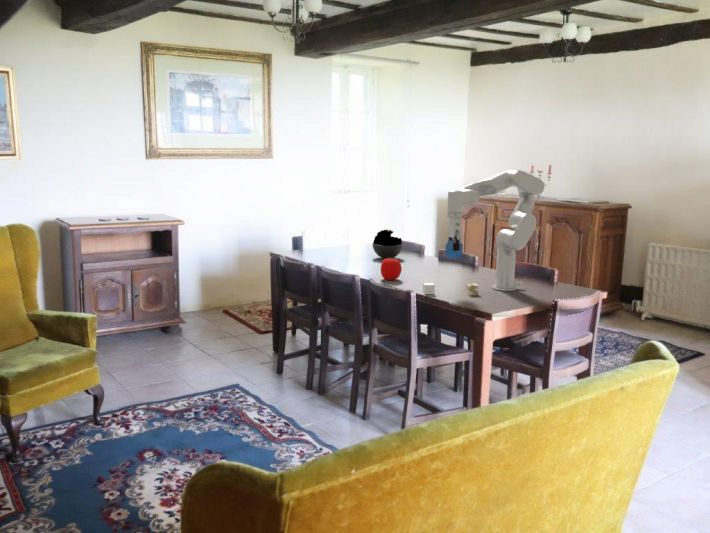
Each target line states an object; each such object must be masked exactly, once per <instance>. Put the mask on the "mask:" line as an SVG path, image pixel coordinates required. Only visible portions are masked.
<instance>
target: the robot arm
mask: <svg viewBox="0 0 710 533" xmlns="http://www.w3.org/2000/svg"><path fill="white" fill-rule="evenodd" d="M511 187H514V188H516V189H517V192H518V193H517V194H518V201H517V204H516V206H515V208H514V209H513V211H512V213H511V215H510V217H509V218H508V225H509V227H510V228H504V229H501V230H499V231H498V232H497V234H496V238H495V241H496V249H497V250H496V251H497V252H496V269H495V282H494V284H492V286H491V287H492V289H493V290H496V291H502V292H513V291H516V290H517V286H523V285H524V283H523V281H516V280H515V274H516V273H515V272H516V271H515V268H516V258H517V257H516V255H517V254H516V251H520V250H522V249H524V248H525V246H526V245H527V244H528V242H529V240H530V238H531V237H532V235H533V233H534V231H535V230H536V227H537V218H536V216H535V215H534V214H532V212H533V211H534V208H535V205H536V200H535V196H540V195H541V194H543V192H544V191H545V183H544V182H543V180H542V179H541V178H539V177H537V176H535V175H533V174H531V173H529V172H526V171H524V170H521V169H507V170H505V171H503V172H500V173H498V174H496V175H494V176H491V177H489V178H487V179H482V180H480V181H479V180H478V181H476V182H472V183H470V184H468V185H465V186H463V187H461V188H460V189H458V190H457V189H456V190H455V189H451V190H449V191H448V193H447V214H446V215H447V216H446V217H447V219H448V222H447V223H448V224H447V225H448V226H447V235H448V240H447V242H448V241H449V240H451V239H452V238H453V239H454V243H453V251H459V250H460V241H461V239H462V238H463V225H462V224H463V222H462V219H463V209H464V208H463V206H464V205H465V206H466V205H468V206H473V205H477V204H478V203H479V202H480V198H481V197H482V196H493V195H497V194H498V193H500V192H502V191H505V190H507V189H509V188H511ZM455 239H456V240H455Z"/></svg>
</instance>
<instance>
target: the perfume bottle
mask: <svg viewBox="0 0 710 533" xmlns="http://www.w3.org/2000/svg"><path fill="white" fill-rule="evenodd" d="M455 240H456V239H455ZM453 243H454V239H453V238H452V239H451V240H449V241H448V240H447V242H446V244H445V251H444V253H445V258H450V259H451V258H452V259H459V258H462V257H463V252H464V251H463V249H464V248H463V247H464V246H463V243H462V241H461V240H460V250H459V251H453Z"/></svg>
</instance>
